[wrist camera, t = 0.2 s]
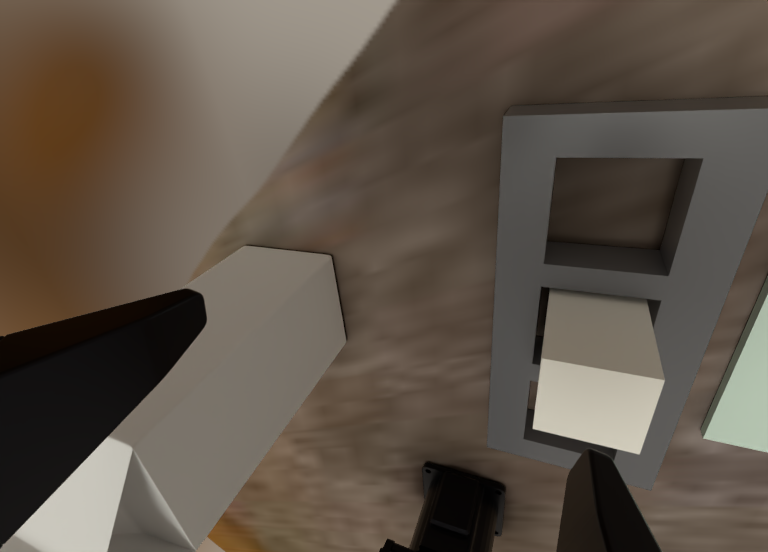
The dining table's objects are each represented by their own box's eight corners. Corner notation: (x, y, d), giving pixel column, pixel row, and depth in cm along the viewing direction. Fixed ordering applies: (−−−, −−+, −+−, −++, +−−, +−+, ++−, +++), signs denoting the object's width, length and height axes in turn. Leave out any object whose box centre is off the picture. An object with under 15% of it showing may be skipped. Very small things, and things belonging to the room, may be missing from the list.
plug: (625, 343, 22) (639, 454, 16) (544, 330, 23) (532, 428, 18) (641, 278, 20) (664, 380, 14) (552, 269, 21) (541, 358, 16)
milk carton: (244, 243, 29) (-116, 488, 14) (333, 253, 26) (7, 567, 11) (268, 324, 32) (2, 587, 17) (348, 340, 30) (115, 666, 15)
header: (645, 454, 25) (651, 490, 23) (493, 418, 28) (486, 447, 26) (772, 95, 15) (800, 107, 13) (511, 105, 18) (503, 116, 16)
